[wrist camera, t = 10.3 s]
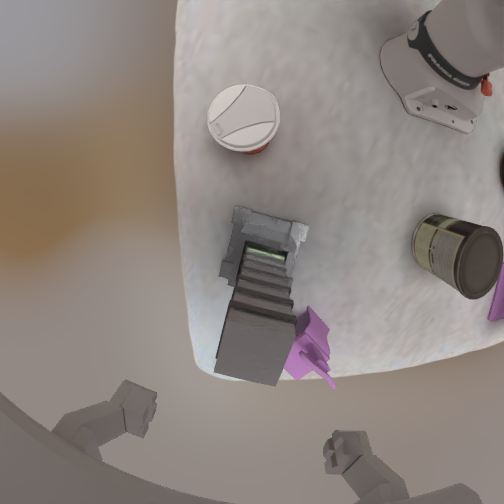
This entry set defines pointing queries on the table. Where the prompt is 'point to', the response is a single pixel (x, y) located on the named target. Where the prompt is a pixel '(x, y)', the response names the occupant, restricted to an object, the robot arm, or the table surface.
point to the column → (258, 321)
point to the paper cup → (244, 118)
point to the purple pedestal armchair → (498, 299)
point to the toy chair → (310, 351)
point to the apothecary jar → (502, 170)
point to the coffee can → (459, 253)
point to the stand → (261, 240)
